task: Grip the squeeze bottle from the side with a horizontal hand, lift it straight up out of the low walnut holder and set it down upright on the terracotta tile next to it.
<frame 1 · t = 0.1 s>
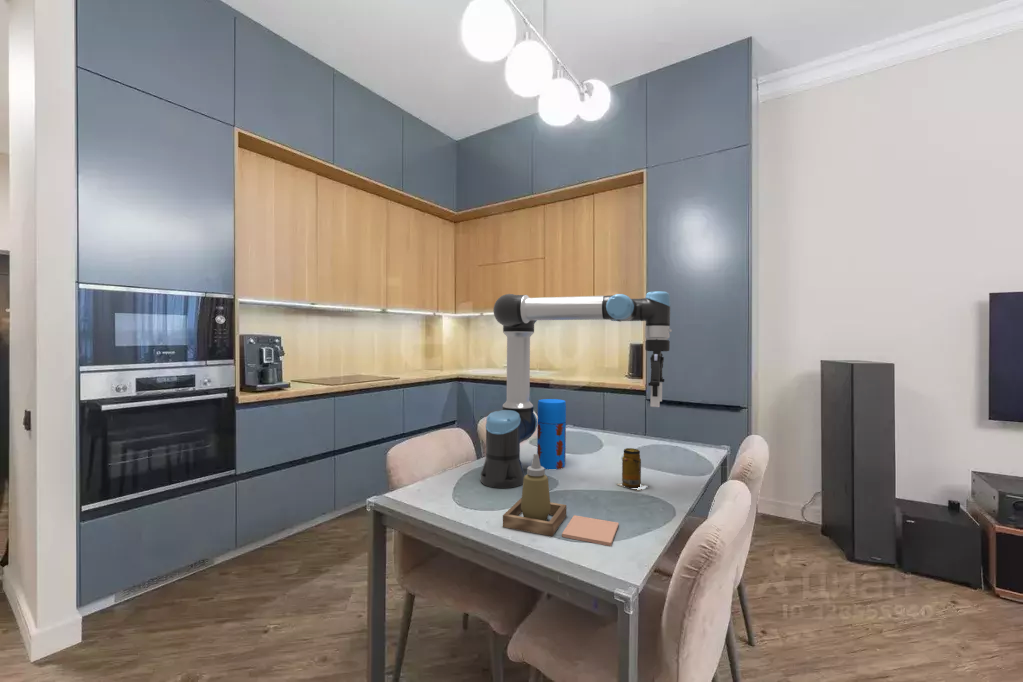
hand: (656, 404, 140), 28 cm above the table, tool pointing down, fingers open, 13 cm apart
thermos: (551, 466, 165), on the table
condiment: (633, 486, 143), on the table
squeeze bottle: (535, 521, 115), resting in bottle holder
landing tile: (591, 531, 109), on the table
bottle holder: (535, 521, 115), on the table
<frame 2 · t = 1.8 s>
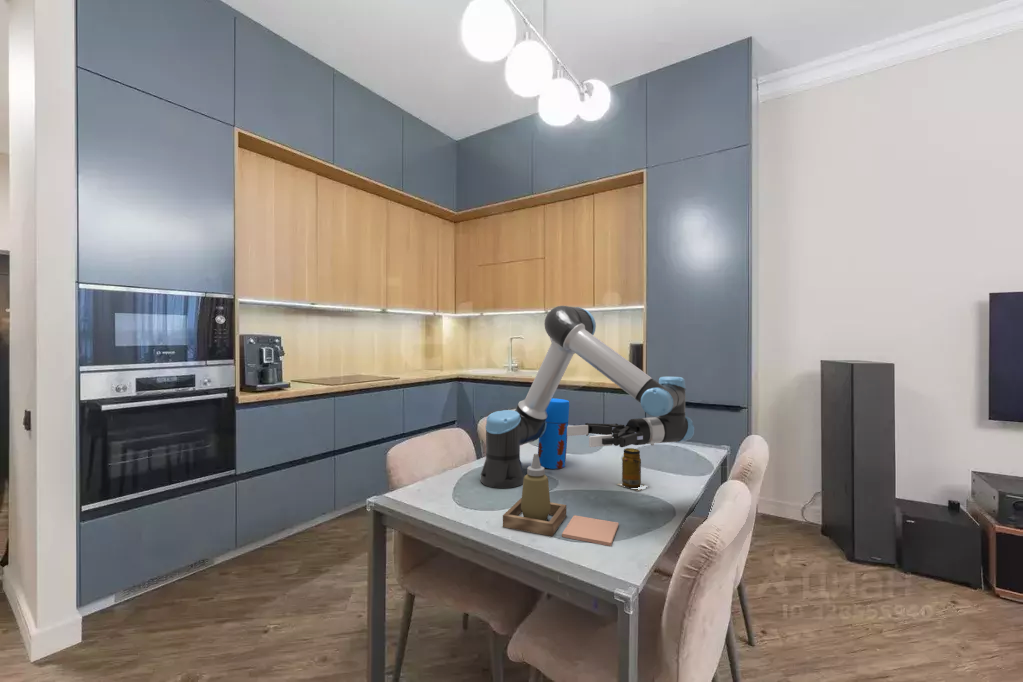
hand: (578, 436, 118), 22 cm above the table, tool horizontal, fingers open, 13 cm apart
thermos: (551, 465, 165), on the table, touching arm
everything else where it was.
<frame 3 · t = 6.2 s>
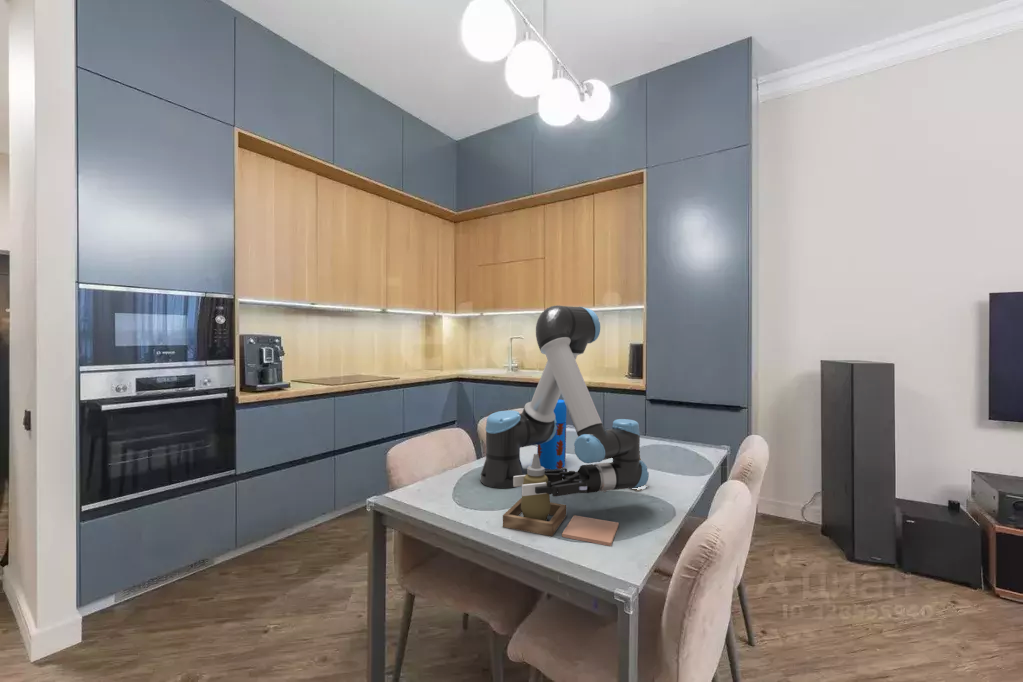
hand: (518, 485, 113), 10 cm above the table, tool horizontal, fingers closed on squeeze bottle, 6 cm apart
squeeze bottle: (535, 521, 115), resting in bottle holder, touching gripper
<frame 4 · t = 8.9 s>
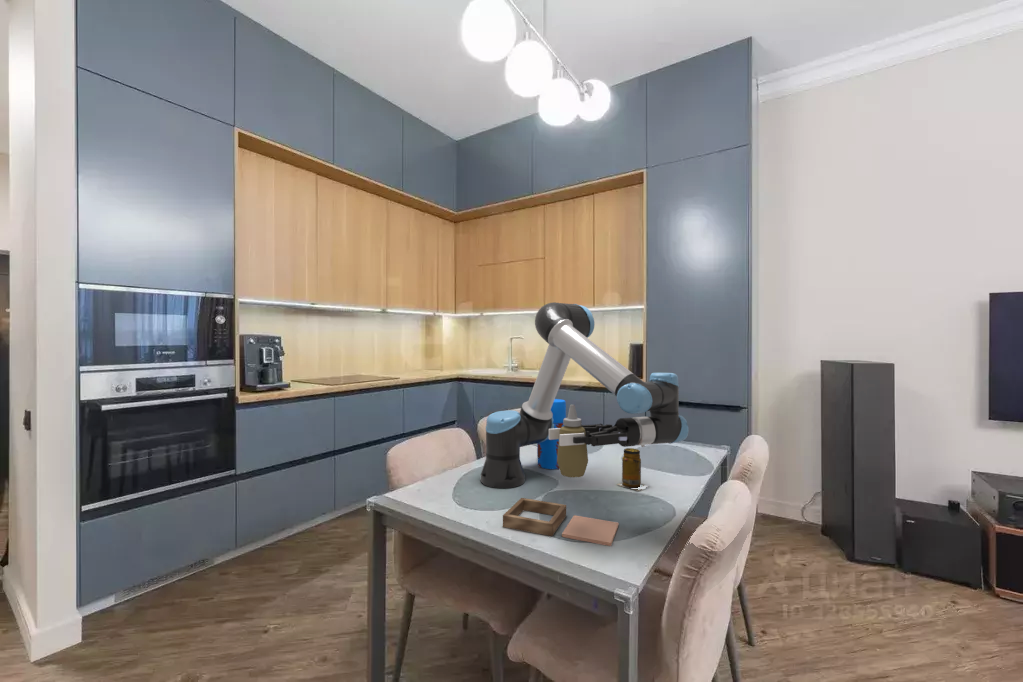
hand: (554, 437, 109), 24 cm above the table, tool horizontal, fingers closed on squeeze bottle, 6 cm apart
thermos: (551, 465, 165), on the table
squeeze bottle: (572, 475, 110), point 14 cm above the table, touching gripper
everything else where it was.
when the fingers open (12 cm above the table, at t = 11.6 s): squeeze bottle drops 2 cm, resting on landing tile.
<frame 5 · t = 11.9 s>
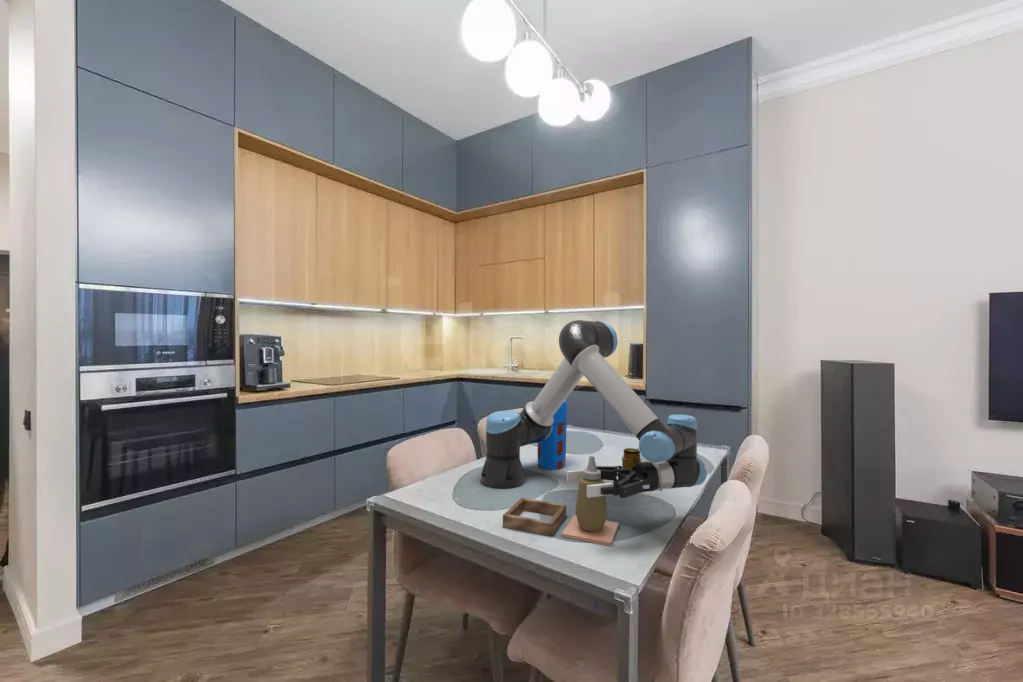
hand: (576, 483, 108), 12 cm above the table, tool horizontal, fingers open, 10 cm apart
thermos: (551, 465, 165), on the table, touching arm
squeeze bottle: (591, 528, 109), point 1 cm above the table, touching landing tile
everything else where it was.
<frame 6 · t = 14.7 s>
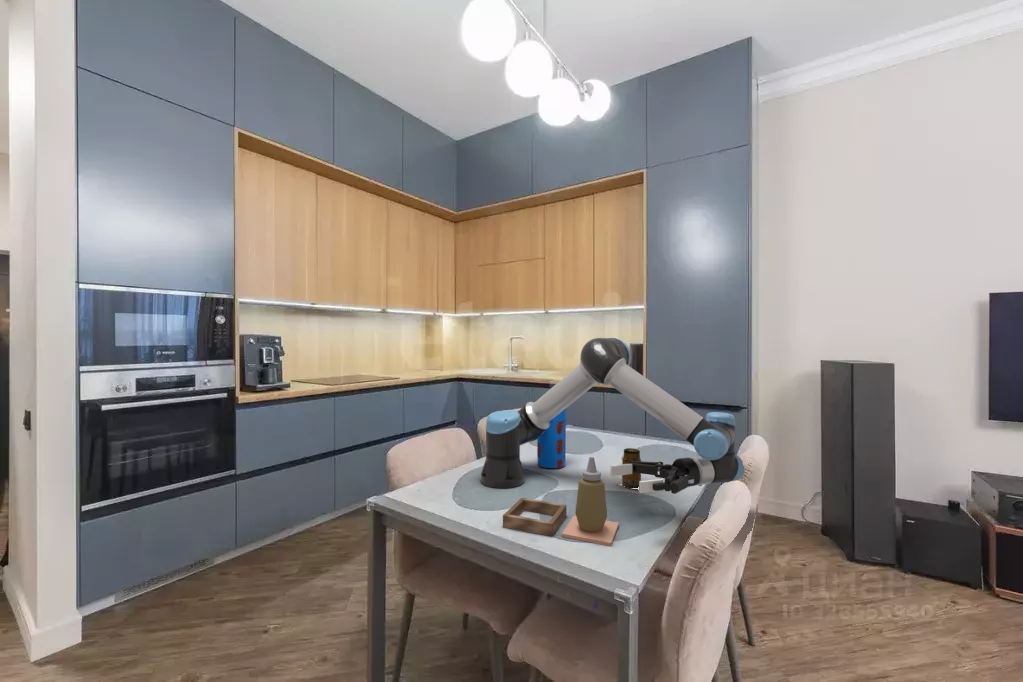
hand: (624, 478, 112), 13 cm above the table, tool horizontal, fingers open, 13 cm apart
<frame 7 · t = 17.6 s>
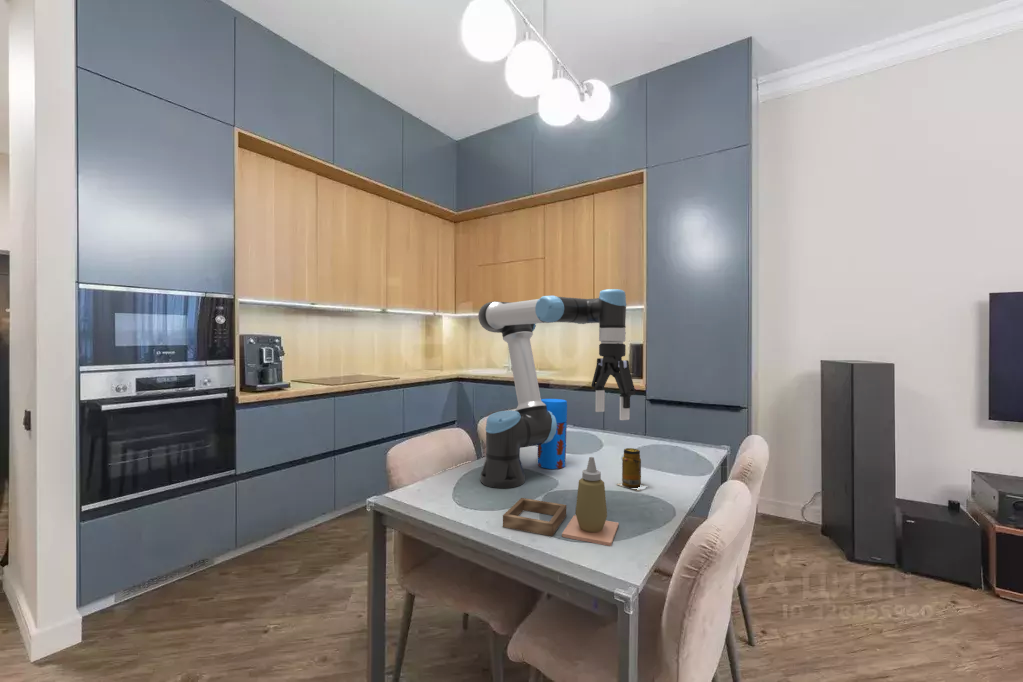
hand: (611, 415, 125), 27 cm above the table, tool pointing down, fingers open, 13 cm apart
at the end: squeeze bottle inside the target area on the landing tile (0.0 cm from its centre), point 0.6 cm above the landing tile's base; squeeze bottle tilted 0°; the gripper is holding nothing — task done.
